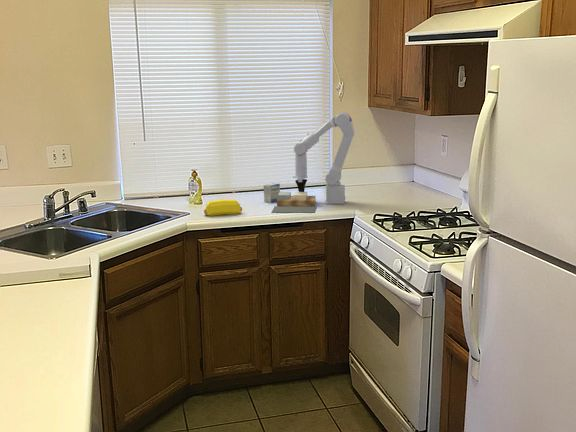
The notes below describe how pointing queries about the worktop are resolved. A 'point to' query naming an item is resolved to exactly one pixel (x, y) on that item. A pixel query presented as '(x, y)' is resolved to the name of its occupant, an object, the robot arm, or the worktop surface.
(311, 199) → the deck
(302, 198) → the ivory card
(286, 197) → the slate card
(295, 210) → the mat
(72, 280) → the worktop surface
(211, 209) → the banana
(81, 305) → the worktop surface
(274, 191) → the medicine box
